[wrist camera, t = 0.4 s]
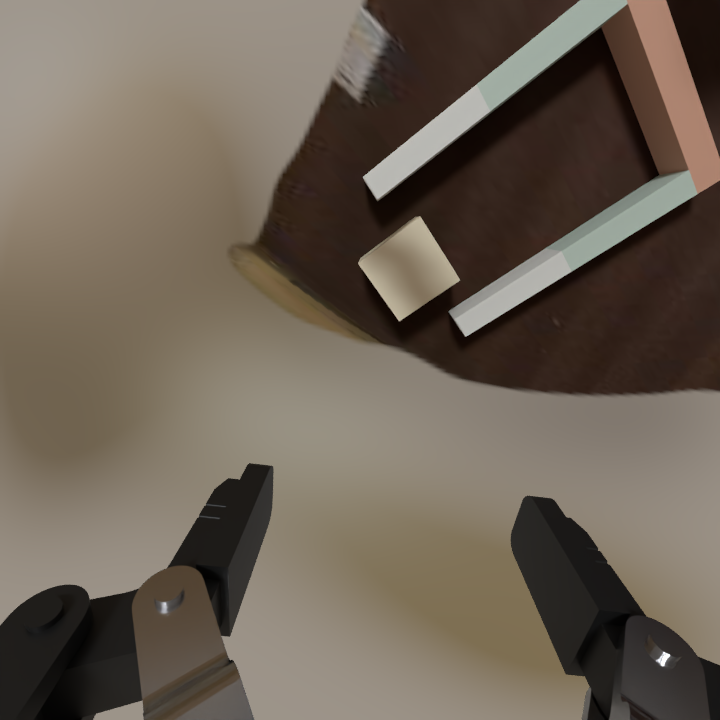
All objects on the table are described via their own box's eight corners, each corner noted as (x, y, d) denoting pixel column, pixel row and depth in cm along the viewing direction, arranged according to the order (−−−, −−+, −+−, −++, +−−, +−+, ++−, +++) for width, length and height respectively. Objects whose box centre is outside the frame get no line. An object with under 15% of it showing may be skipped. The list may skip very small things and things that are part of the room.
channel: (617, -24, 25) (647, -55, 22) (692, 180, 29) (725, 176, 26) (364, 181, 31) (362, 176, 28) (458, 327, 35) (465, 336, 32)
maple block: (414, 217, 32) (420, 216, 27) (449, 272, 33) (460, 280, 29) (360, 257, 33) (357, 263, 29) (396, 309, 35) (399, 321, 30)
